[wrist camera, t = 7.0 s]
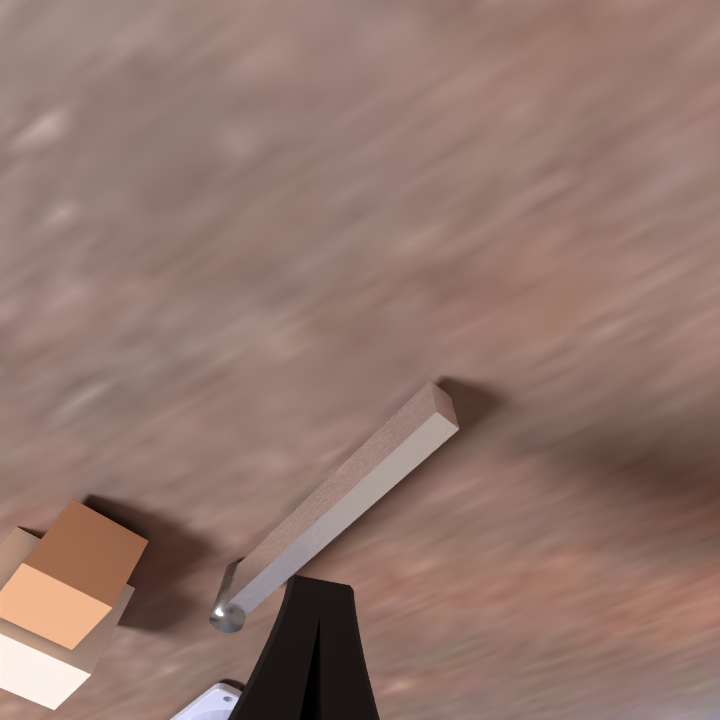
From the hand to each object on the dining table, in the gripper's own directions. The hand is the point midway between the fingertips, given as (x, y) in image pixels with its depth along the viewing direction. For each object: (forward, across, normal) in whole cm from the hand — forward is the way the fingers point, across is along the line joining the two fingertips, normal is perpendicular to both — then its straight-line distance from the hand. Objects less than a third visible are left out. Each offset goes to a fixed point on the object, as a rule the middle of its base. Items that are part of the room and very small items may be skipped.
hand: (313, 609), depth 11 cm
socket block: (+8, +11, +13) cm, 19 cm away
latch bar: (+8, 0, +4) cm, 9 cm away
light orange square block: (+8, +9, +10) cm, 16 cm away
